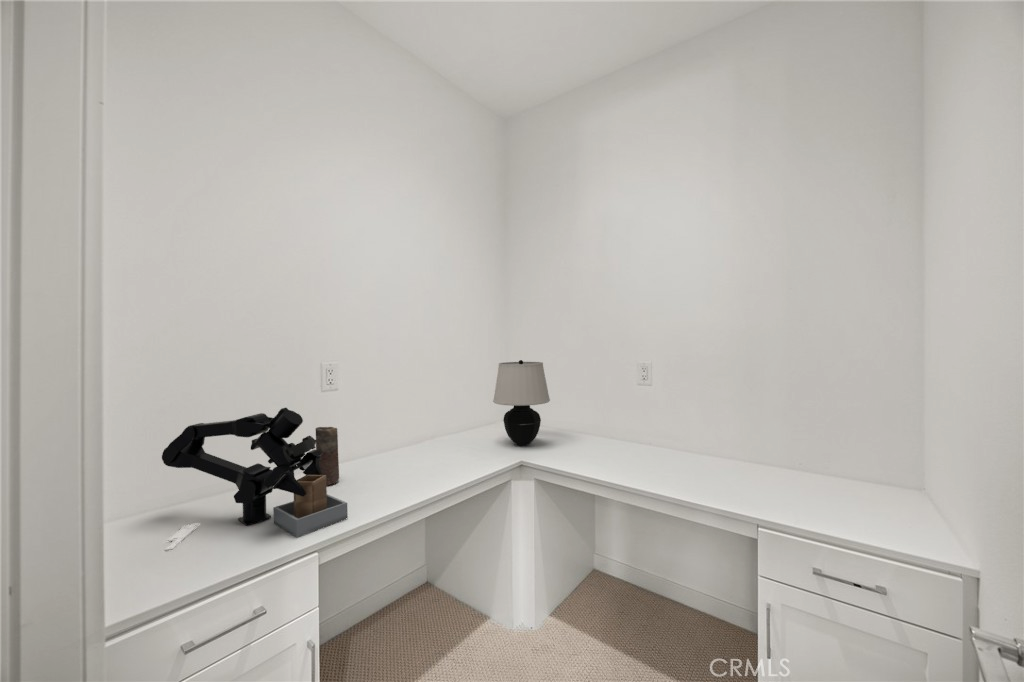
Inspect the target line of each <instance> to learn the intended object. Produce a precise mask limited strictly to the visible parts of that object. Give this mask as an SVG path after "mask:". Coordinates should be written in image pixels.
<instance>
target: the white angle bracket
mask: <svg viewBox="0 0 1024 682" xmlns="http://www.w3.org/2000/svg"><path fill="white" fill-rule="evenodd" d="M200 523H201V522H194V523H187V524H188V525H187V524H185V525H186V526H185V525H183V526H184V527H183V526H182V527H183V528H182V529H181V530H179V529H178V530H179V531H178V530H177V531H178V532H177V531H176V532H177V533H176V534H174V533H173V534H174V535H173V534H172V535H173V536H172V535H171V536H172V537H171V536H170V537H171V538H170V537H168V538H169V539H168V538H167V539H168V540H167V539H166V540H167V541H169V540H170V541H169V543H172V542H173V543H172V544H170V545H169V546H168V547H166V548H165V549H164V551H165V552H170V551H169V550H173V549H174V548H175V547H176V546H177V545H178V544H179V543H180V542H181V543H183V542H184V541H185V540H186V539H187V538H186V537H187V536H188V535H189V534H190V533H191V532H192V531H193V530H194V529H195V528H196V527H197V526H198V525H199V524H200ZM189 524H191V525H189ZM196 529H197V528H196ZM196 529H195V530H196ZM195 530H194V531H195ZM194 531H193V532H194ZM193 532H192V533H193ZM192 533H191V534H192ZM191 534H190V535H191ZM190 535H189V536H190ZM189 536H188V537H189ZM185 538H186V539H185ZM173 539H177V540H173ZM184 539H185V540H184ZM171 541H172V542H171ZM181 543H180V544H181ZM180 544H179V545H180ZM179 545H178V546H179ZM178 546H177V547H178ZM177 547H176V548H177ZM176 548H175V549H176ZM175 549H174V550H175ZM174 550H173V551H174Z"/></svg>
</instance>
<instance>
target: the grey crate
mask: <svg viewBox="0 0 1024 682" xmlns="http://www.w3.org/2000/svg"><path fill="white" fill-rule="evenodd" d="M272 510H273V511H272V512H273V524H274V525H275V526H277V527H278V528H280V529H282V530H283V531H285V532H286V533H289V534H290V535H292V536H294V537H296V538H298V539H299V538H300V537H302V536H305V535H309V534H311V533H314V532H316V531H318V529H319V530H321V528H322V529H324V528H327V527H329V526H331V524H332V525H335V524H337V523H340V522H342V521H341V520H343V521H345V520H347V519H346V518H349V516H348V515H349V513H348V502H346V501H344V500H341V499H339V498H337V497H334V496H332V495H331V494H328V493H327V509H325V510H322V511H319V512H316V513H313V514H310V515H307V516H304V517H302V518H299V519H298V518H296V517H294V500H293V501H290V502H287V503H283V504H279V505H276V506H274V507H273V508H272ZM344 519H345V520H344ZM339 521H340V522H339ZM336 522H337V523H336ZM334 523H335V524H334ZM323 527H324V528H323ZM313 531H314V532H313Z"/></svg>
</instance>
